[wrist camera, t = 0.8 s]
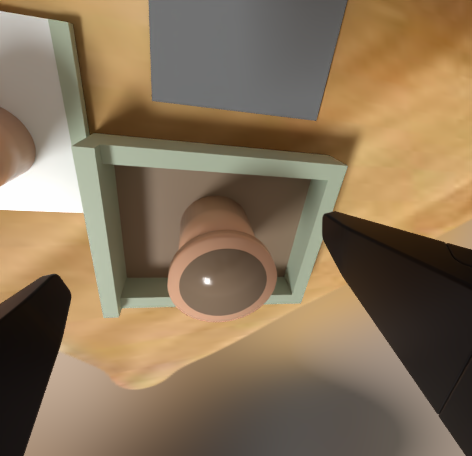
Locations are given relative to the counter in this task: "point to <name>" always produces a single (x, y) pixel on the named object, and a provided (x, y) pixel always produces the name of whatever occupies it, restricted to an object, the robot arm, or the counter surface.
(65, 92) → the white square board
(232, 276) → the pot
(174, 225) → the green shallow rectangular frame
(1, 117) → the pot
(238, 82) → the mat
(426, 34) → the counter surface
